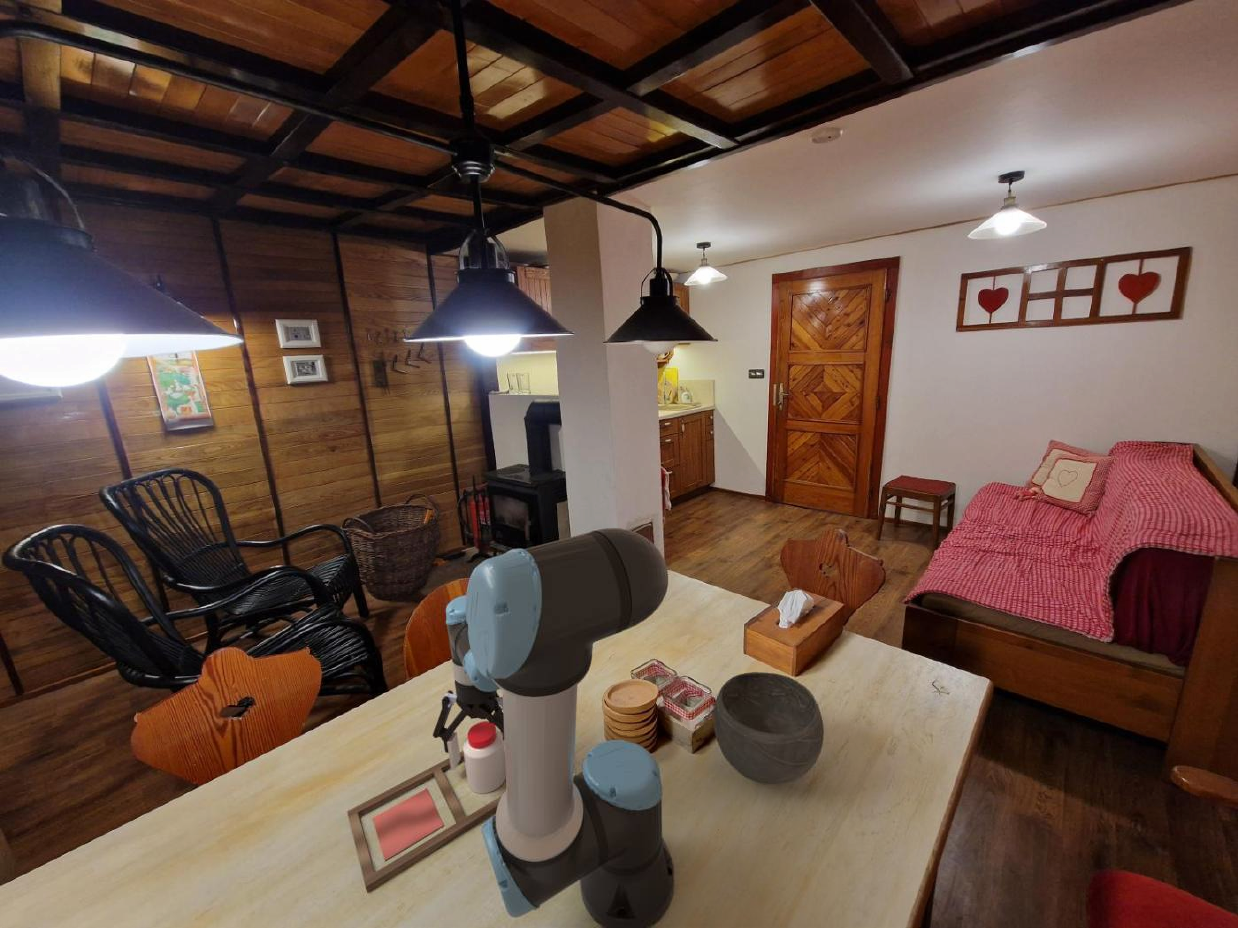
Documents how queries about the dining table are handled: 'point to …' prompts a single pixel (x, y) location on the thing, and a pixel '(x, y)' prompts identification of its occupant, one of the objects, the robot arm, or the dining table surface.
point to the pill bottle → (484, 758)
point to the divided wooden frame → (411, 823)
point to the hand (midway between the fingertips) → (486, 766)
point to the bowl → (768, 727)
